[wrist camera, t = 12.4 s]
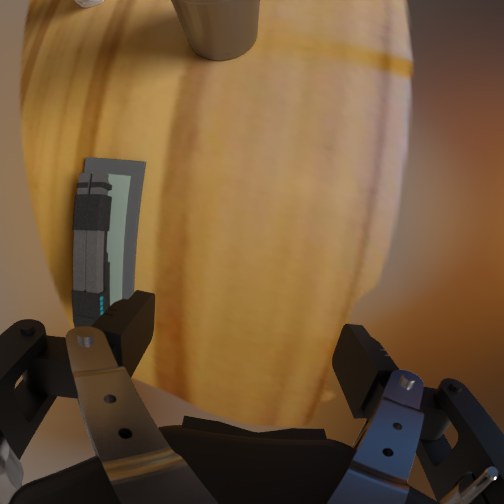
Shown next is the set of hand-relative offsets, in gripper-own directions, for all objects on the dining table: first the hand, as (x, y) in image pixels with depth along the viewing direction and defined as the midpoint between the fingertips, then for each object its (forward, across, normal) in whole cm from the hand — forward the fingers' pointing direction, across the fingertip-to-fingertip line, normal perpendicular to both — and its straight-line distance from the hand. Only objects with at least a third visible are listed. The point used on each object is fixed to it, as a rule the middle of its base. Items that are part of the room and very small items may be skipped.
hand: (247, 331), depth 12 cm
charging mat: (+26, +19, +6) cm, 33 cm away
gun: (+25, +19, +6) cm, 32 cm away
